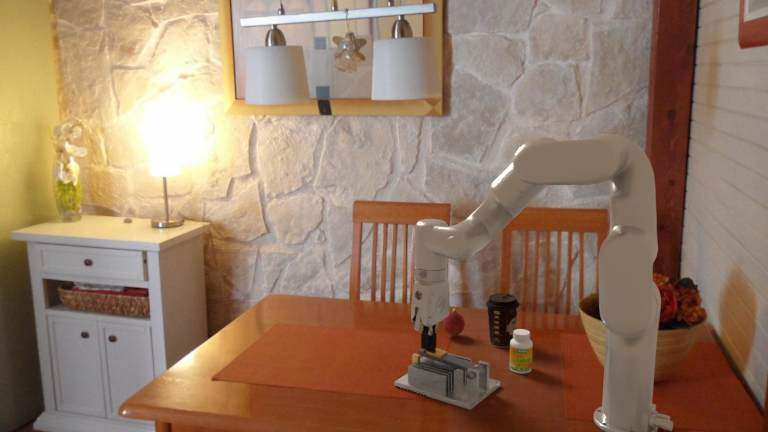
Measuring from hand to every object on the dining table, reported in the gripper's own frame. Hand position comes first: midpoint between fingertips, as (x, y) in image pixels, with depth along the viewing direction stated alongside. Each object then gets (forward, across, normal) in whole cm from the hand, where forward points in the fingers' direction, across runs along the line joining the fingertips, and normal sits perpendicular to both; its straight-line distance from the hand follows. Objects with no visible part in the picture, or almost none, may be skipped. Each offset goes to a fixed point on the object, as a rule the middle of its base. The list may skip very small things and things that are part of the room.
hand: (428, 348), depth 161 cm
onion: (+8, +27, +9) cm, 30 cm away
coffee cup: (+8, +30, -4) cm, 31 cm away
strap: (+3, 0, -6) cm, 7 cm away
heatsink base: (+8, 0, -5) cm, 10 cm away
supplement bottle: (+8, +18, -15) cm, 25 cm away
